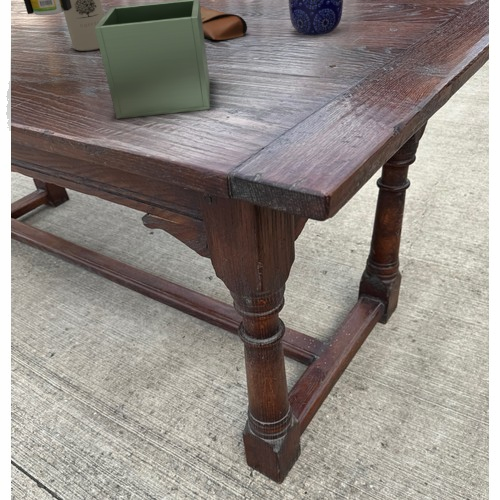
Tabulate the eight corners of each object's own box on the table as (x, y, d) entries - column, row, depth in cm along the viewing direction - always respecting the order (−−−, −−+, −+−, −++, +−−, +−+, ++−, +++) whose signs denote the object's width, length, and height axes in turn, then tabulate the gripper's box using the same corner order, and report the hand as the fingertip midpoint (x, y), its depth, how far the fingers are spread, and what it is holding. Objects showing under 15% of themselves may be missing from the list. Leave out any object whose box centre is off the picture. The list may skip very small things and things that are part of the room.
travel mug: (74, 45, 114) (49, -48, 103) (110, 40, 115) (89, -52, 104) (73, 53, 107) (46, -44, 97) (111, 48, 108) (88, -49, 98)
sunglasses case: (173, 28, 117) (182, -2, 115) (198, 38, 121) (207, 10, 120) (215, 40, 104) (225, 7, 102) (240, 51, 109) (251, 20, 107)
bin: (116, 119, 74) (94, 27, 67) (128, 88, 85) (110, 7, 78) (209, 109, 74) (197, 17, 67) (209, 80, 85) (199, -2, 78)
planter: (284, 38, 103) (282, -23, 96) (295, 25, 111) (293, -32, 105) (338, 37, 100) (340, -26, 93) (345, 24, 108) (347, -35, 102)
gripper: (71, -166, 77) (107, 2, 90) (-50, -156, 77) (3, 11, 90) (59, -171, 71) (99, 10, 84) (-73, -160, 71) (-12, 19, 84)
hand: (50, 10), depth 87 cm, fingers closed on supplement bottle, 5 cm apart
